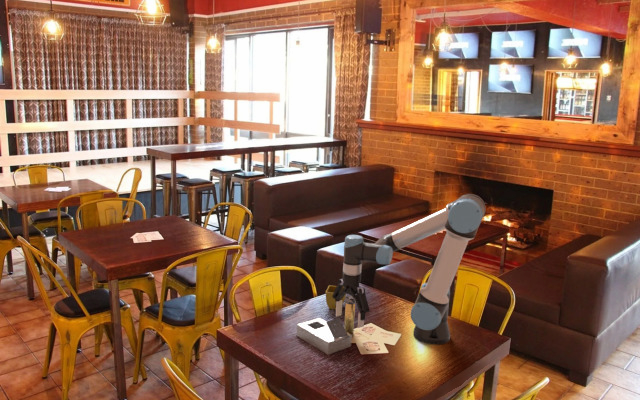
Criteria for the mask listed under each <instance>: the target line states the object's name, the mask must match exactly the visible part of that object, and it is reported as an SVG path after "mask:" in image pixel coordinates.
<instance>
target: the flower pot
mask: <svg viewBox="0 0 640 400" xmlns="http://www.w3.org/2000/svg"><path fill="white" fill-rule="evenodd" d="M336 287H337V285H328V286H327V289H326V290H325V301H326V305H327V308H328V309H330V310H336V307H335V304H336V301H335V299H334V298H332V295H333V293H334V291H335V289H336ZM343 288H344V286H343ZM343 288H342V289H343ZM341 291H342V290H341ZM346 297H347V293H346V294H345V295H344V297H343V298H342V299H341V300H342V306H343V304H344V302H345V301H346Z"/></svg>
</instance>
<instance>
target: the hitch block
mask: <svg viewBox="0 0 640 400" xmlns="http://www.w3.org/2000/svg"><path fill="white" fill-rule="evenodd" d="M326 322H328V321H326V320H325V319H323V318H321V317H317V318H314V319H310V320H308V321H304V322H301V323H298V324H296V337H298V338H300V339H302V340H303V341H305V342H307V343H308V344H310V345H311V346H313V347H315V348H316V349H318V350H319V351H321V352H323V353H324V354H326V355H331V354H333V353H337V352H339V351H342V350H345V349H348V348H351V346H352V337H353V335H351V334H349V333H347V334H348V335H349V338H347V339H344V340H341V341H338V342H334V338H333V335H332V333H331V331H330V329H329V327H328V325H327V323H326Z"/></svg>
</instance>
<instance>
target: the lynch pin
mask: <svg viewBox="0 0 640 400" xmlns="http://www.w3.org/2000/svg"><path fill="white" fill-rule="evenodd" d="M344 305H345V309H344V322H343V323H344V324H343V326H344V328H345V330H346V332H347V333H349V334H351V335H352V336H354V331H355V330H354V329H355V314H356V301H355V299H354V298H353V297H352V296H351V295H346V297H345V304H344Z"/></svg>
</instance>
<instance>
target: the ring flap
mask: <svg viewBox="0 0 640 400" xmlns="http://www.w3.org/2000/svg"><path fill="white" fill-rule="evenodd" d="M326 323H327V325H328V327H329V329H330V331H331V333H332V335H333V338H334V342H338V341H341V340H344V339H347V338H349V335H348V334H347V332H346V330H345V328H344V324H343V322H342V320H341V318H340V317H337V318H334V319H331V320H328V321H327V322H326Z"/></svg>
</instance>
